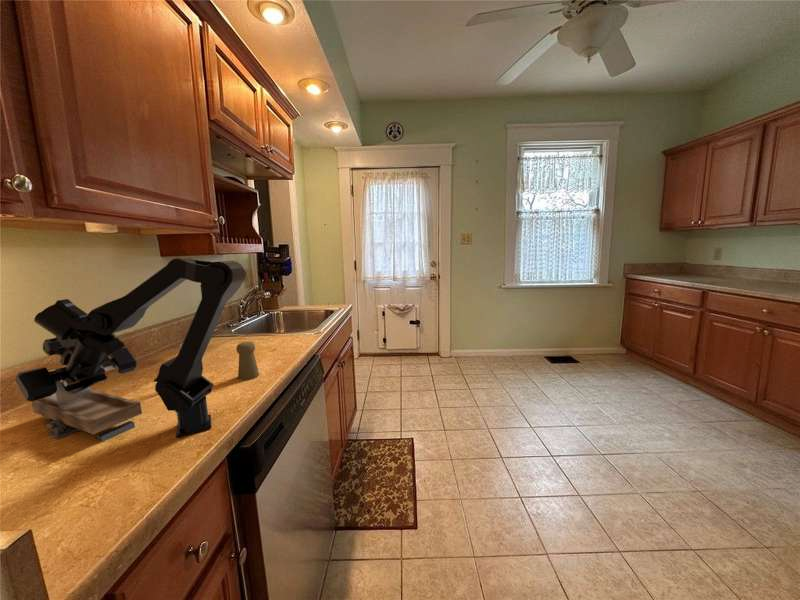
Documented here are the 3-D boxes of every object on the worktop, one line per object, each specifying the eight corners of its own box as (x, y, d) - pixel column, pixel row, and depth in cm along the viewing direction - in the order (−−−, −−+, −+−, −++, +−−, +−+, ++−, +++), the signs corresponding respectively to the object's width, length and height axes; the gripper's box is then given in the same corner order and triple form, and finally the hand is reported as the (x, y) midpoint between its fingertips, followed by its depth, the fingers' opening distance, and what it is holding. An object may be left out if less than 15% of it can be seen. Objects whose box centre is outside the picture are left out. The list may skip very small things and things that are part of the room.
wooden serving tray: (142, 413, 73) (140, 402, 72) (93, 434, 65) (90, 422, 64) (82, 396, 83) (80, 386, 83) (33, 412, 75) (31, 401, 75)
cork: (253, 380, 97) (250, 345, 95) (234, 380, 97) (230, 345, 95) (262, 372, 103) (259, 339, 101) (244, 372, 103) (240, 339, 101)
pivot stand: (152, 419, 75) (150, 407, 75) (80, 451, 64) (77, 437, 63) (95, 401, 85) (93, 390, 85) (24, 426, 73) (21, 414, 73)
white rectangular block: (92, 398, 78) (86, 367, 77) (59, 410, 73) (52, 376, 71) (79, 395, 80) (73, 364, 79) (46, 406, 75) (39, 373, 74)
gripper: (123, 315, 78) (105, 353, 84) (8, 334, 61) (-4, 380, 67) (147, 349, 76) (127, 385, 83) (36, 378, 60) (21, 422, 66)
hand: (74, 391), depth 75 cm, fingers closed
